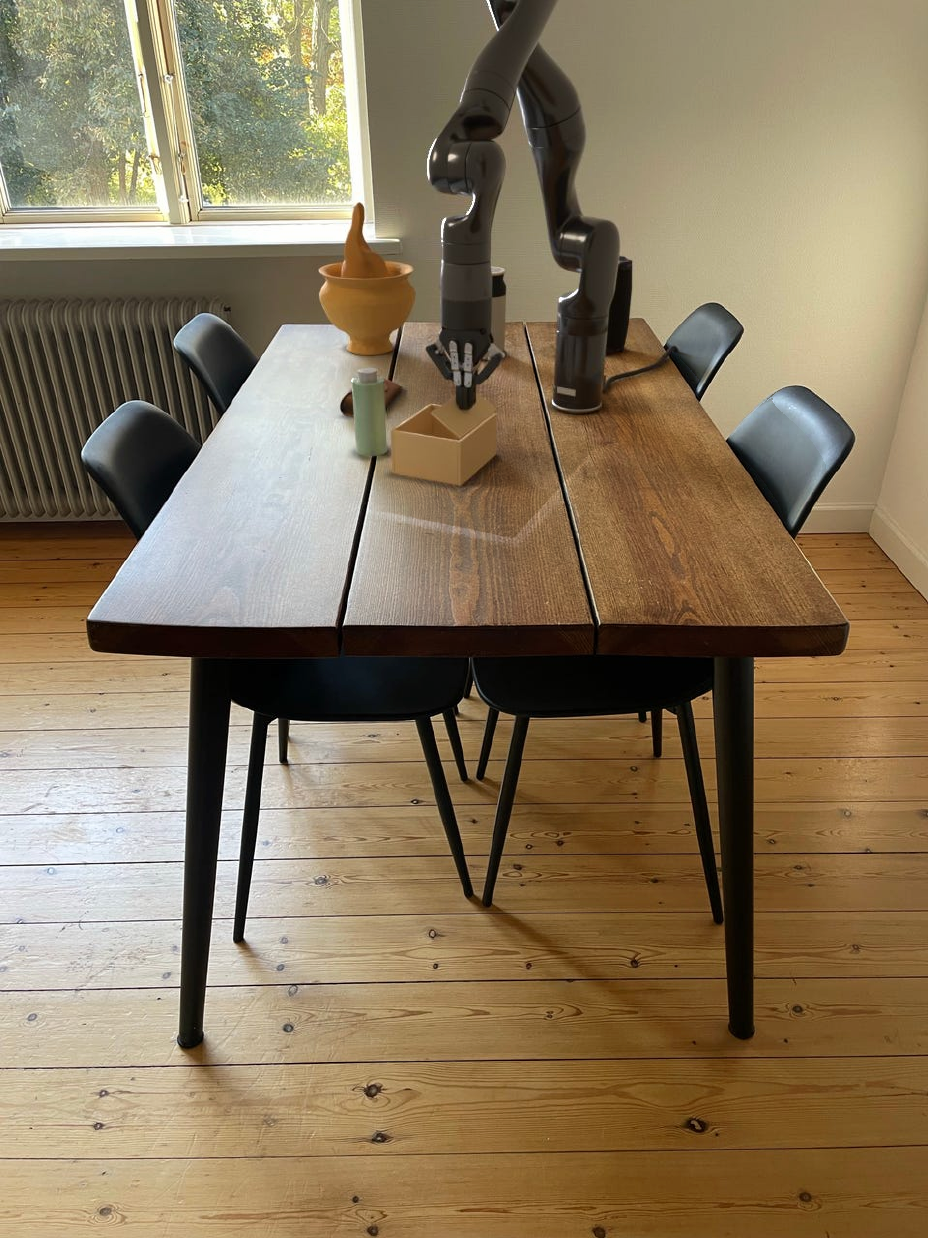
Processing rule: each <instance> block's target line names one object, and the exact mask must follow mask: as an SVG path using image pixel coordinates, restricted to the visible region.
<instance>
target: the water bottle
mask: <svg viewBox="0 0 928 1238" xmlns="http://www.w3.org/2000/svg"><path fill="white" fill-rule="evenodd" d="M377 370H378V369H377V368H374V367H361V368H359V369H358V370H357V376H355V377H353V378H352V379H351V387H352V395H353V411H354V417H353V426H354V441H355V453H356V454H357V455H360V456H363V457H378V456H381V455H384V454H386V453H387V452H388V439H387V438H388V437H387V436H388V435H387V415H386V414H387V413H386V410H385V389H384V379H383V378H384V377H383V376H380V375H378V371H377ZM377 375H378V376H377ZM379 376H380V377H379ZM382 377H383V378H382Z"/></svg>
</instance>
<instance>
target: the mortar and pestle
mask: <svg viewBox="0 0 928 1238" xmlns="http://www.w3.org/2000/svg"><path fill="white" fill-rule="evenodd" d="M365 210H366V209H365V207H364V204H363V203H362V202H360V201H359V202H356V204H355V205H354V206H353V208H352V214H351V223H350V228H349V230H348V232H347V235H346V239H345V241H344V242H345V243H344V252H343V253H344V261H342V262H341V261H340V262H334V263H331V264H327V265H324V266H322V267H320V268H318V272H319V274H320V275H321V276H322V277H323V278H324V279H325V282H324V284H323V285H322V286H321V288H320V290H319V293H318V297H319V302H320V304H321V307H322V309H323V311H324V313H325V315H326V317H327V319H328V320H329V322H330V323H331V324H332V325H333V326H334V327H335V328H337V329H338V330H339V331H342V332H344V333H346V335H347V336H348V338H349V342H348V345H347V346H346V351H348V352H349V353H351V354H355V355H363V356H364V355H366V356H374V355H381V354H387V353H389V352H391V351H393V350H394V345H393V344H392V341H391V339H390V338H391V334H392V333H393V332H394V331H396V330H398V329H399V328H401V327H402V326H403V325H404V324H405V323H406V322H407V320H408V319H409V316H410V315H411V313H412V310H413V308H414V305H415V301H416V294H417V293H416V290H415V288H414V286H413V285H412V284H411V282H410V281H409V280H408V279H409V277H410V275H411V274H412V273H413V272H414V270H415V269H414V267H413V266H411V265H409V264H406V263H403V262H396V261H388V260H384V258H383V257H382V256H381V255H380V254H379V253H378V252H375V251H373V250H372V248H371V247H370V246H369V243H367V241H366V239H365V236H364V233H363V229H364V224H365V218H366V215H365V214H366V213H365Z"/></svg>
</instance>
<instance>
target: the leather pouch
mask: <svg viewBox="0 0 928 1238" xmlns="http://www.w3.org/2000/svg"><path fill="white" fill-rule="evenodd" d="M377 376H379V377H382V378H383V379H384V389H385V411H386V410H387V408H388V407H389V405H390V404H391V403H392V402H393V400H394V399H395V398H396V397H397V395H398V394H399V393H400V391H401V390H402V389H403V385H400V384H399V383H397V382H394V381H392V380H389V379H388V378H385V377H383V376H381V375H378V374H377ZM339 410H340V412H341V413H342V415H344V416H345V417H351V418H354V411H353V395H352V386H351V387H350V388H349V390H348V391H347V392H346V394H345V395H344V396H343V398H342V399H341V401H340V405H339Z"/></svg>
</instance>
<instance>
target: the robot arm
mask: <svg viewBox="0 0 928 1238" xmlns="http://www.w3.org/2000/svg"><path fill="white" fill-rule="evenodd" d="M559 1H560V0H487V3H488V6H489V7H488V8H489V10H490V12H491V15H492V19H493V21H494V25H495V27H496V32H495V33H494V34H493V35H492V37H490V39H489V40H488V41H487V43H486V44H485V45H484V46H483V47H482V49H481V50H480V51H479V53H478V55H477V56H476V57H475V59H474V61H473V62H472V65H471V67H470V69H469V71H468V74H467V78H466V80H465V84H464V87H463V90H462V93H461V97H460V100H459V103H458V106H457V107H456V109H455V110H454V111H453V113H452V114H451V116H450V117H449V119H448V120H447V122H446V123H445V124H444V126H443V127H442V129H441V131H440V132H439V134H438V135H437V137H435V140H434V142H433V144H432V146H431V148H430V150H429V154H428V158H427V165H426V166H427V167H426V169H427V177H428V181H429V183H430V185H431V187H432V188H433V189H434V190H435V191H436V192H437V193H439V194H441V195H446V196H460V197H461V196H463V197H473V201H472V205H471V207H470V209H469V211H465V212H459V213H454V214H450V215H448V216H446V217H445V218H444V219H443V220H442V223H441V267H440V276H439V277H440V279H439V280H440V281H439V282H440V283H439V293H440V295H439V296H440V326H441V329H440V331H439V333H438V339H436V340H435V341H434V342H431V343H430V344H428V345H426V347H425V351H426V353H427V354H428V356H429V357H430V359H431V361H432V362H433V364H434V365H435V367H436V368H437V370H438V371H439V373H440V374H441V376H442V378H443V379H444V380H445V381H450V382H453V383H454V385H455V396H456V404H457V405H459V409H462V410H470V409H471V408H472V407H473V406H474V405H475V403H476V392H477V386H479V385H482V384H484V383H485V382H486V381H488V379H489V378H490V377H491V376H492V374H493V373H495V371H496V370H497V369H498V367H499V366H500V365H501V364H502V363H503V361H504V360H505V359H506V358H507V356H508V353H507V351H506V349H505V350H499V349H498V348H497V347H496V346H495V345H494V344H493V343H494V338H493V336H492V333H491V321H492V270H491V267H492V231H493V224H494V219H495V215H496V211H497V205H498V202H499V197H500V194H501V191H502V188H503V184H504V181H505V176H506V170H507V163H506V157H505V154H504V151H503V149H502V147H501V145H500V144H499V143H497V141H495V139H497V138H500V137H501V135H502V134H503V133H504V132H505V130H506V127H507V124H508V121H509V118H510V115H511V112H512V108H513V105H514V101H515V98H516V96H517V99H518V104H519V107H520V113H521V117H522V121H523V126H524V129H525V134H526V138H527V141H528V145H529V149H530V151H531V154H532V155H531V156H532V159H533V162H534V166H535V171H536V175H537V179H538V184H539V185H538V186H539V189H540V194H541V197H542V203H543V208H544V214H545V215H544V216H545V221H546V222H545V223H546V229H547V236H548V242H549V247H550V252H551V255H552V257H553V260H554V262H555V263H556V265H557V266H558V267H559V268H561V269H562V270H565V271H567V272H572V273H576V274H577V273H578V274H580V275H579V280H578V287H577V288H576V289H575V290H572V291H569V292H566V293H563V294H561V295H560V296H559V298H558V300H557V310H556V311H557V313H556V315H557V316H556V331H555V332H556V333H555V335H556V336H555V348H554V349H555V351H554V352H555V353H554V369H553V385H552V400H551V407H552V408H553V409H555V410H557V411H560V412H563V413H568V414H577V415H579V414H590V413H595V412H598V411H599V410H601V409H602V406H603V402H602V398H603V393H606V392H607V391H608V389H609V386H610V385H611V384H612V383H613V382H615V381H617V380H621V379H626V378H629V377H634V376H637V375H640V374H643V373H646V372H649V371H652V370H654V369H656V368H658V367H660V366H661V365H663V363H664V362H665V361H666V359H667V358H668V357H669V356H670V355H672V353H673V352H674V353H679V348H678V347H677V346H676V345H672V346H670V347H669V348H668V349H667V350H666V352H664V353H663V354H662V356H661V357H660V358H659V360H658V361H656V362H654V363H652V364H650V365H647V366H643V367H641V368H638V369H634V370H630V371H627V372H621V373H618V374H614V375H612V376H610V377H609V378H608V379H607V375H606V374H605V366H606V365H605V364H606V355H605V354H606V342H607V329H608V317H609V307H610V304H611V301H612V298H613V296H614V291H615V284H616V277H617V270H618V263H619V256H621V255H620V253H621V235H620V231H619V228H618V227H617V224H616V223H615V222H613V221H612V220H609V219H607V218H601V217H594V216H587V215H584V214H583V212H582V209H581V206H580V202H579V201H580V200H579V198H578V192H577V176H578V174H579V169H580V167H581V165H582V164H581V163H582V160H583V158H584V154H585V151H586V147H587V128H586V127H587V126H586V123H585V122H586V121H585V116H584V112H583V107H582V103H581V98H580V95H579V92H578V89H577V87H576V85H575V83H574V82H573V80H571V78H570V77H569V75H568V74H567V73H566V72H565V71H564V70H563V68H562V67H561V65H559V63H558V62H556V60H555V59H554V58H553V57H552V56H551V55H550V53H549V52H548V51H547V50H546V49H545V48H544V46H543V45H542V43H541V42H540V39H541V37H542V35H543V33H544V31H545V29H546V27H547V25H548V23H549V21H550V20H551V17H552V16H553V13H554V11H555V9H556V7H557V5H558V3H559ZM488 351H489V355H488V360H487V361H488V362H487V363H486V365H485V366H484V367H483V368H482V369H481V371H480V372H479V369H480V367H481V361H482V359H483V357H484V356H485V355H486V353H487V352H488Z"/></svg>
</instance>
